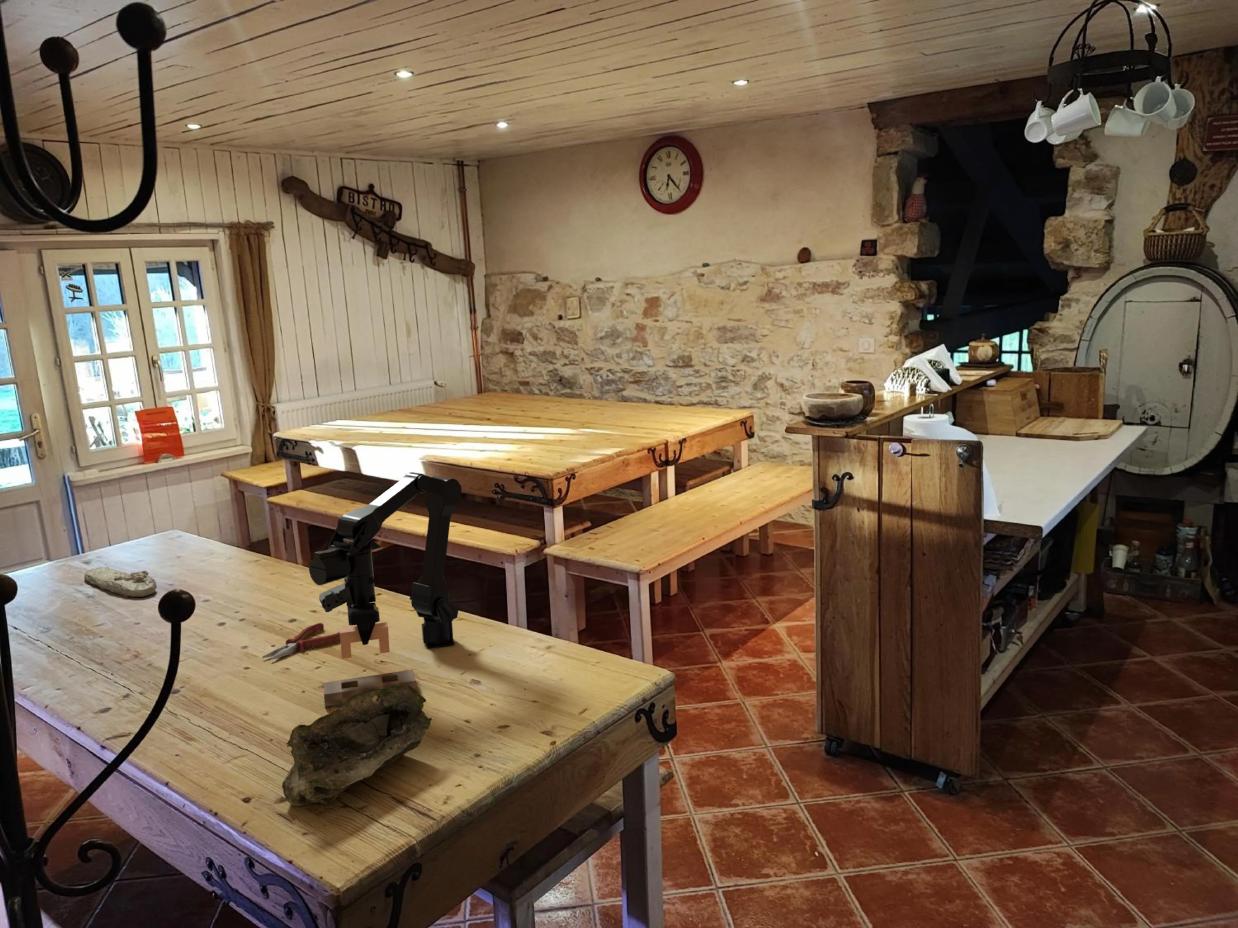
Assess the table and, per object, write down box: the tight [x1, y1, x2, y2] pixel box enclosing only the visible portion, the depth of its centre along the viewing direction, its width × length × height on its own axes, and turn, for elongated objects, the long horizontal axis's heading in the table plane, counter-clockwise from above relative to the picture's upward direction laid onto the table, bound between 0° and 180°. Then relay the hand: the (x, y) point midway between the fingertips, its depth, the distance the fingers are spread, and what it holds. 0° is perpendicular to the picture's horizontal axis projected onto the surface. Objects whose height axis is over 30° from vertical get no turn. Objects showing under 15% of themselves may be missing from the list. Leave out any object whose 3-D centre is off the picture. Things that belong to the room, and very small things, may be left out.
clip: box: [338, 621, 391, 660], centre depth 195 cm, size 10×3×6 cm, turn 108°
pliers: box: [261, 622, 340, 661], centre depth 212 cm, size 12×20×3 cm, turn 149°
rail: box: [323, 669, 418, 710], centre depth 185 cm, size 18×6×3 cm, turn 108°
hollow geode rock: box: [281, 685, 433, 807], centre depth 153 cm, size 28×13×15 cm
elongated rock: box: [84, 566, 158, 598], centre depth 261 cm, size 35×5×10 cm
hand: (364, 641), depth 195 cm, fingers closed on clip, 3 cm apart
